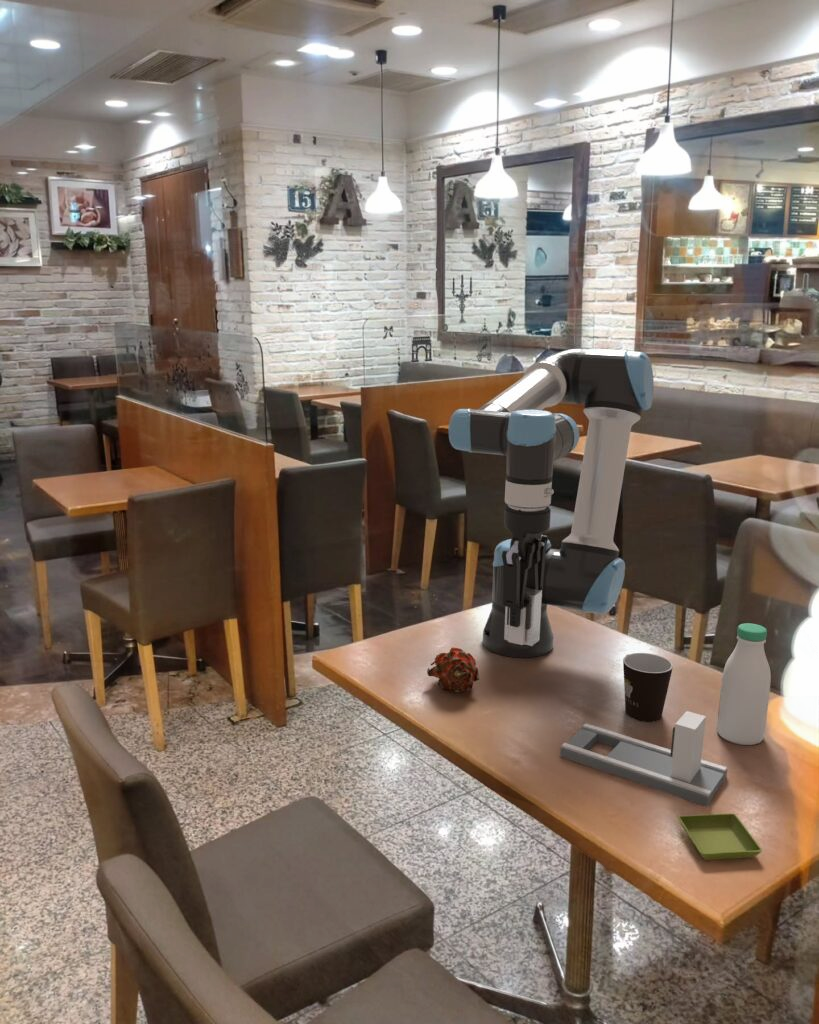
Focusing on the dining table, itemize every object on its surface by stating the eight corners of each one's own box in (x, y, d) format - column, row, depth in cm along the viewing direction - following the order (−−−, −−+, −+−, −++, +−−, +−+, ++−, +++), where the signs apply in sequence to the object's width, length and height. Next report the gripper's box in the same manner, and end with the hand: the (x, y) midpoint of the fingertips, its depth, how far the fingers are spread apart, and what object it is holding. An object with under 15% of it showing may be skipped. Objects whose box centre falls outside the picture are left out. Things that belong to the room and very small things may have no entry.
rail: (585, 732, 152) (589, 676, 149) (726, 776, 139) (733, 716, 136) (560, 756, 144) (563, 698, 141) (706, 806, 131) (713, 743, 128)
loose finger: (539, 640, 150) (542, 590, 147) (530, 647, 147) (533, 596, 144) (511, 633, 152) (513, 584, 150) (502, 640, 149) (504, 590, 147)
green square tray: (762, 864, 118) (763, 850, 118) (700, 867, 118) (701, 853, 117) (733, 825, 127) (734, 812, 126) (675, 828, 126) (676, 815, 125)
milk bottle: (772, 744, 148) (787, 635, 143) (730, 748, 147) (743, 637, 142) (748, 722, 156) (761, 617, 151) (708, 725, 155) (719, 620, 149)
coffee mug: (669, 727, 154) (675, 675, 151) (619, 722, 155) (623, 670, 153) (664, 697, 165) (669, 648, 162) (618, 693, 167) (621, 644, 164)
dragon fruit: (467, 710, 162) (436, 693, 173) (498, 677, 165) (465, 662, 176) (442, 679, 159) (412, 664, 170) (473, 646, 162) (442, 633, 172)
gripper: (527, 519, 135) (521, 660, 141) (568, 498, 148) (560, 627, 154) (484, 512, 138) (479, 650, 144) (527, 492, 152) (521, 619, 158)
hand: (521, 638), depth 149 cm, fingers closed on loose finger, 3 cm apart
